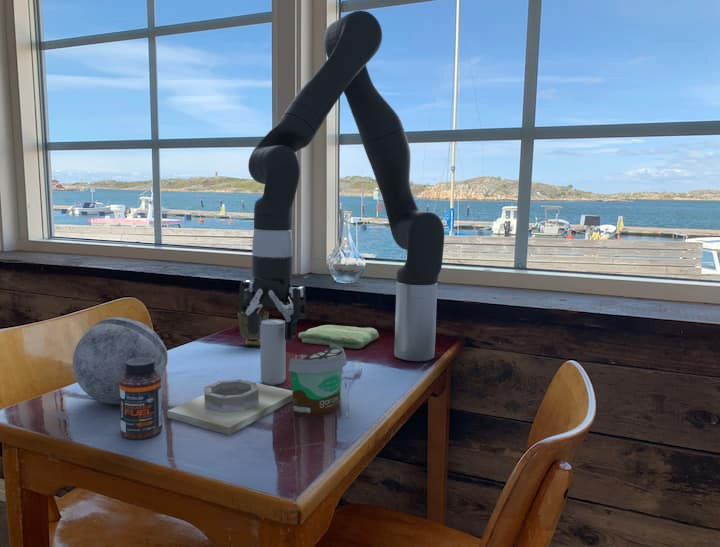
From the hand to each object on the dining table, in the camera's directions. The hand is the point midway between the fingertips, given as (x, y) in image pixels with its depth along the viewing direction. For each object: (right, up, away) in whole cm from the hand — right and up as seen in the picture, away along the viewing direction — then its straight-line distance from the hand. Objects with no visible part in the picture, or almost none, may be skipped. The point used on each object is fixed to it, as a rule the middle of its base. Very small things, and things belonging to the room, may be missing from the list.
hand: (271, 336), depth 107 cm
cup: (-9, -5, +27) cm, 29 cm away
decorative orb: (-24, -10, -11) cm, 28 cm away
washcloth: (+12, -5, +34) cm, 36 cm away
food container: (+11, -11, -12) cm, 20 cm away
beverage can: (0, -9, +1) cm, 9 cm away
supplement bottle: (-16, -12, -23) cm, 30 cm away
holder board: (-4, -11, -12) cm, 17 cm away
